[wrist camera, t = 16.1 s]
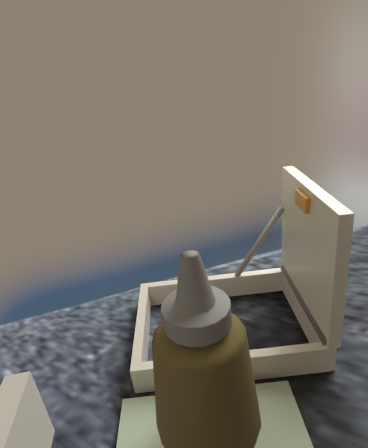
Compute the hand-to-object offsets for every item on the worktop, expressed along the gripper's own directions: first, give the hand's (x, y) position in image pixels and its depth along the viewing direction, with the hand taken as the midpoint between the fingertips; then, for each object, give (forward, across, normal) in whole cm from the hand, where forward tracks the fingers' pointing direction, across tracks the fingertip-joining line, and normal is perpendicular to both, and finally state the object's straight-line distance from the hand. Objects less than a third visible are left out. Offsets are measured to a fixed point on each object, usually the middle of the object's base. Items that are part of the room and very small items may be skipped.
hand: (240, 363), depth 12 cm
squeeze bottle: (+10, -1, -20) cm, 22 cm away
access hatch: (+24, +4, -20) cm, 31 cm away
